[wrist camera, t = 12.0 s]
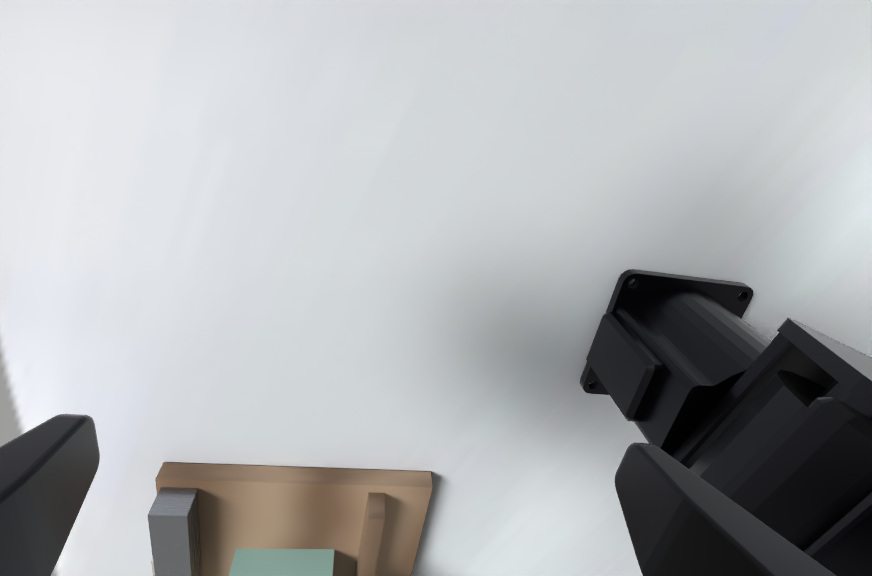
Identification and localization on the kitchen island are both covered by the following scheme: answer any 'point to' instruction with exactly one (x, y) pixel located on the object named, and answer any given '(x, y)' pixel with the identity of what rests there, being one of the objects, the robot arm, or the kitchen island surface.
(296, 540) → the shelf
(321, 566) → the product carton
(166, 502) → the price rail
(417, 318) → the kitchen island surface
